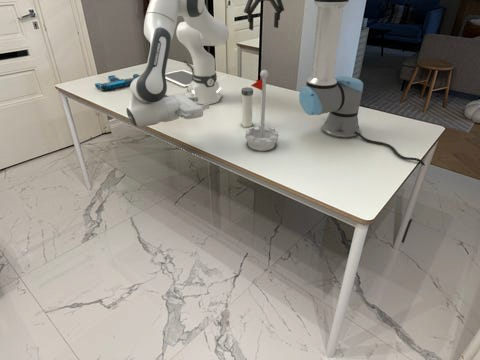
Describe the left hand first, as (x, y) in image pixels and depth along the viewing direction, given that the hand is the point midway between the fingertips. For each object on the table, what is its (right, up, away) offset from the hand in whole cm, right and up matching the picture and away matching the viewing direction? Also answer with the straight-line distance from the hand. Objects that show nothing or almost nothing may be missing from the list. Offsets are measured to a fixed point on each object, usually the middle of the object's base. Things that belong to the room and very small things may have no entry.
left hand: (202, 102), depth 137 cm
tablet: (-21, +34, +80) cm, 89 cm away
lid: (+18, +7, +9) cm, 22 cm away
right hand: (+26, +41, +26) cm, 56 cm away
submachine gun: (-56, +29, +72) cm, 96 cm away
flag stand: (+24, -17, +2) cm, 29 cm away
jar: (+18, -6, +18) cm, 27 cm away
